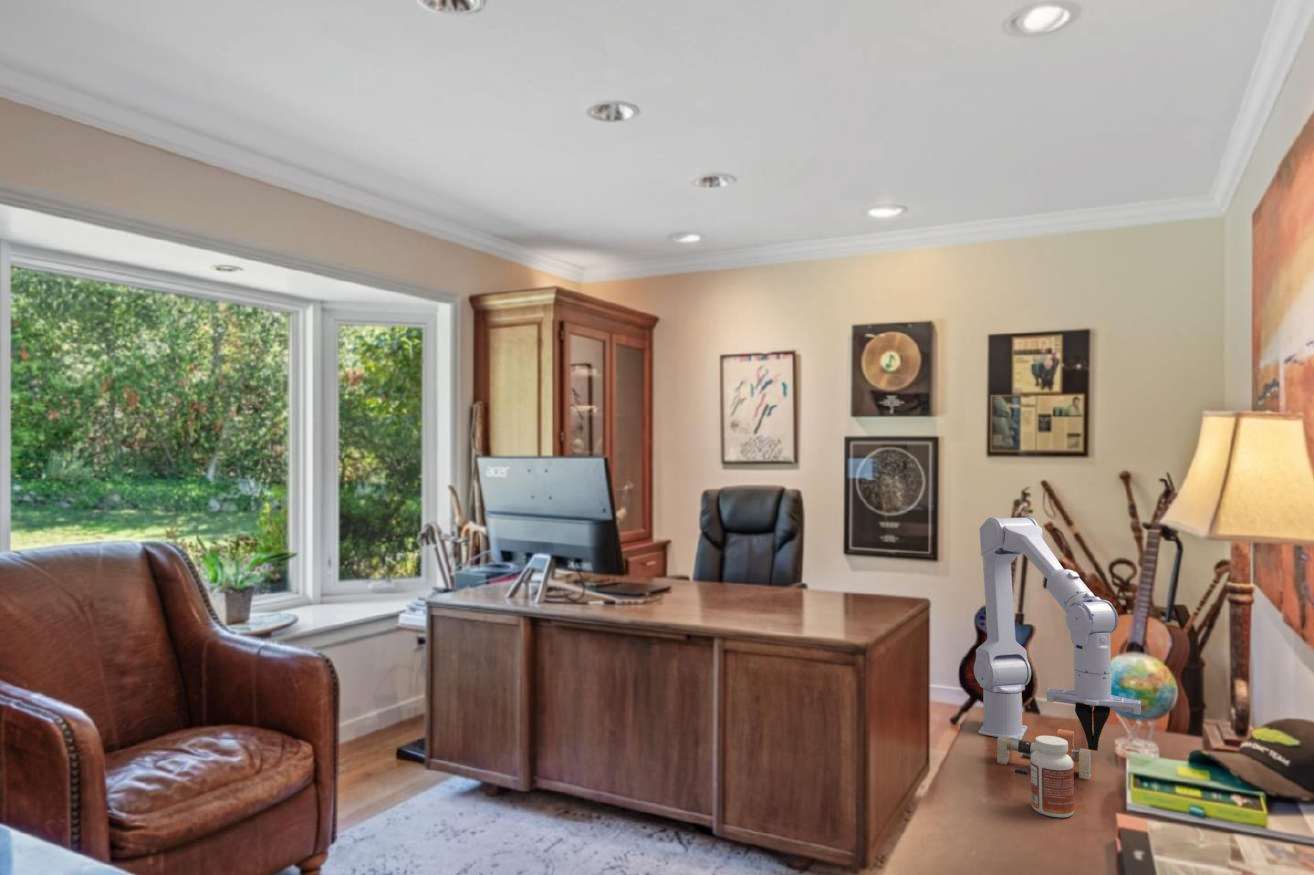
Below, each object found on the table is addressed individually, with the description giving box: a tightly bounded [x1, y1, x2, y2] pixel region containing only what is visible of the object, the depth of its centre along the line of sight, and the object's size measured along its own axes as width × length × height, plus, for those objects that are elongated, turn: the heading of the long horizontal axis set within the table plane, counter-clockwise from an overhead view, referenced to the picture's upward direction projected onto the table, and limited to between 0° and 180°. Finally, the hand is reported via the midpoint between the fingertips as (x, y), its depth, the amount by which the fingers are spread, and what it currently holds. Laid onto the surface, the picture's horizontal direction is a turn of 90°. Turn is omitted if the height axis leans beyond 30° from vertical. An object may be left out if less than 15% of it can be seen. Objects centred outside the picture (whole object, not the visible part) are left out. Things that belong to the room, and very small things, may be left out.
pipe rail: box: [996, 735, 1092, 781], centre depth 149 cm, size 15×10×4 cm, turn 58°
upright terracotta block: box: [1055, 728, 1075, 771], centre depth 147 cm, size 2×6×6 cm, turn 148°
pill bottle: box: [1030, 735, 1075, 819], centre depth 131 cm, size 6×6×11 cm
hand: (1093, 748), depth 145 cm, fingers closed
